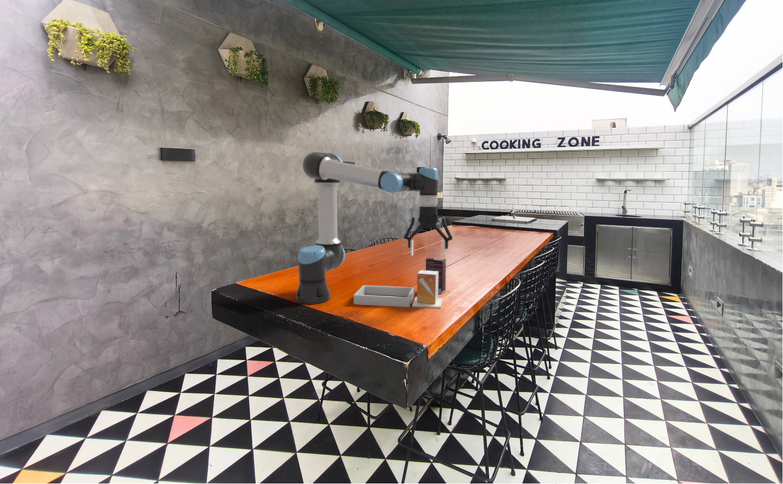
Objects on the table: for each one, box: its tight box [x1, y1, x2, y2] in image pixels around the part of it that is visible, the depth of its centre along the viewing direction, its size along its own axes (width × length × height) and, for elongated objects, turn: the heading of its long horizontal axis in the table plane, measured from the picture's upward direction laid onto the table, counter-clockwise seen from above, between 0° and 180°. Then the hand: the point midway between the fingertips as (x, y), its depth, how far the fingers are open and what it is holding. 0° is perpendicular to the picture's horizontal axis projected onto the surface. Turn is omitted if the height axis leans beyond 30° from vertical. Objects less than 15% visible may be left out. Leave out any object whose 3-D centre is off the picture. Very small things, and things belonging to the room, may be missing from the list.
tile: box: [411, 296, 443, 309], centre depth 165 cm, size 12×12×1 cm
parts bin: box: [353, 284, 415, 308], centre depth 170 cm, size 24×16×4 cm, turn 79°
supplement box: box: [425, 257, 447, 294], centre depth 181 cm, size 9×5×16 cm, turn 62°
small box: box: [416, 269, 439, 304], centre depth 164 cm, size 8×6×13 cm
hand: (427, 256), depth 162 cm, fingers open, 13 cm apart
